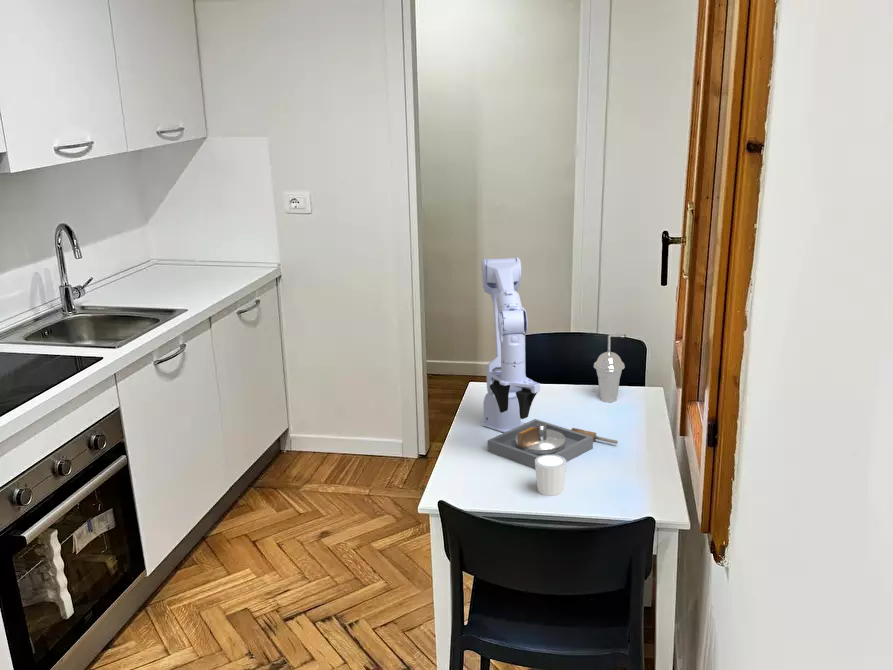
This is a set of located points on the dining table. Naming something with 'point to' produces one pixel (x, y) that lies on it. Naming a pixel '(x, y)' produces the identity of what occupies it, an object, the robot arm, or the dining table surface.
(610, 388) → the cup with straw
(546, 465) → the white fluted cup
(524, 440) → the dial
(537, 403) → the dining table surface
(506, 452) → the tray
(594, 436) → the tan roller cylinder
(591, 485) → the dining table surface
